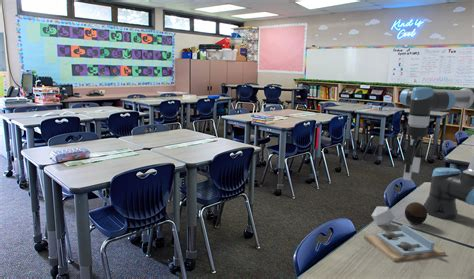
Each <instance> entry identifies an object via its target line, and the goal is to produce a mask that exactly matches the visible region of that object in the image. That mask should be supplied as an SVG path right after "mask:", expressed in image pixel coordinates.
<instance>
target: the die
mask: <svg viewBox="0 0 474 279" xmlns="http://www.w3.org/2000/svg"><path fill="white" fill-rule="evenodd" d="M371 217H372V219H373V221H374V222H375V224H376V226H378V227H380V226H382V227H389V226H390V225H391V223H392V222H393V220H394V219H395V218H396V217H395V215H394V213H393V212H392V210H391V208H390V207H389V206H376V208H375V209H374V211H373V212H372V214H371Z"/></svg>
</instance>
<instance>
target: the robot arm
mask: <svg viewBox="0 0 474 279" xmlns="http://www.w3.org/2000/svg"><path fill="white" fill-rule="evenodd" d="M399 101H400V103H401V104H402V105H403V106H407V107H409V112H408V116H407V117H406V118H407V119H408V121H407V124H408V125H407V127H406V134H407V136H410V137H411V138H410V139H409V138H408V141H407V147H406V152H405V155H404V160H403V161H402V164H403V165H404V169H403V176H402V180H404V181H412V180H411V179H412V173H416V174H419V173H420V166H421V159H423V158H424V155H423V151H424V150H423V144H424V138H425V137H427V136H428V131H429V126H430V119H431V118H430V117H431V112H432V111H433V112H435V111H436V112H437V111H449V110H451V109H453V108H454V107H458V108H460V109H464V110H465V109H467V110H472V111H474V87H469V88H468V87H463V88H461V89H434V88H433V87H428V86H427V87H426V86H425V87H424V86H415V87H413V88H405V89H403V90H402V91H401V92H400V94H399ZM472 153H473V154H472V156H471V159H470V162H469V165H468V167H467V169H465V170H462V171H461V170H460V169H458V168H455V167H454V168H453V167H452V168H451V167H436V168H434V169H433V171H432V175H431V181H430V185H429V186H430V188H429V195H428V197H427V198H426V200H425V203H423V204H422V205H423V206H424V207H425V208H426V210H427V215H430V216H433V217H436V218H439V219H440V218H441V219H445V220H447V219H448V220H449V219H452V220H453V219H456V218H457V217H458V210H457V203H456V202H457V201H456V200H458V201H460V202H462V203H465V204H467V205H470V206H471V205H472V206H474V152H472Z"/></svg>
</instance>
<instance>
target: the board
mask: <svg viewBox="0 0 474 279" xmlns="http://www.w3.org/2000/svg"><path fill="white" fill-rule="evenodd" d="M393 232H394V231H385V232H384V233H385V236H384V237H385V238H387V239H388V240H393V239H397V237H403V236H396V234H395V233H393ZM363 239H364V240H365V241H366V242H368V243H369V244H370V245H372V246H373V247H374V248H375V249H377V250H378V251H379V252H381V253H382V254H383V255H385V256H386V257H388V258H389V259H390V260H391V261H392V262H398V261H406V260H407V261H408V260H414V259H421V258H428V257H436V256H444V255H446V251H445V250H443V249H442V248H440V247H438V245H435V244H434V249H433V252H426V253H418V254H410V255H402V254H400V253H399V252H398V251H396V250H395V249H394V248H392V247H391V246H389V245H388V244H387V243H385V242H384V241H383V240H381V239H380V238H378V237H377V236H376V234H370V235H368V234H367V235H364V236H363ZM400 246H401V247H400V248H401V249H402V250H404V251H411V250H413V248H420V247H419V246H416V247H412V245H411V244H410V243H407V242H401V243H400Z"/></svg>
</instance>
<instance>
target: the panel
mask: <svg viewBox="0 0 474 279" xmlns="http://www.w3.org/2000/svg"><path fill="white" fill-rule="evenodd" d="M400 229H401V230H398V231H396V230H395V231H392V232H393V233H395V234H396V236H403V237H397V239H393V240H388V239H387V238H385V237H384V236H385V232H377V233H375V235H376V236H377V237H378V238H380V239H381V240H383V241H384V242H385V243H387V244H388V245H389V246H391V247H392V248H394V249H395V250H396V251H398V252H399V253H400V254H402V255H410V254H418V253H426V252H433V249H434V245H435V242H434V241H433V240H431V239H429V237H427V236H424V235H423V234H421V233H419V232H418V231H416V230H414V229H413V228H411V227H410V226H408V225H407V224H401V228H400ZM401 242H407V243H410V244H411V245H412V247H416V246H419V247H420V248H413V250H411V251H404V250H402V249H401V248H400V247H401V246H400V243H401Z"/></svg>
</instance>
